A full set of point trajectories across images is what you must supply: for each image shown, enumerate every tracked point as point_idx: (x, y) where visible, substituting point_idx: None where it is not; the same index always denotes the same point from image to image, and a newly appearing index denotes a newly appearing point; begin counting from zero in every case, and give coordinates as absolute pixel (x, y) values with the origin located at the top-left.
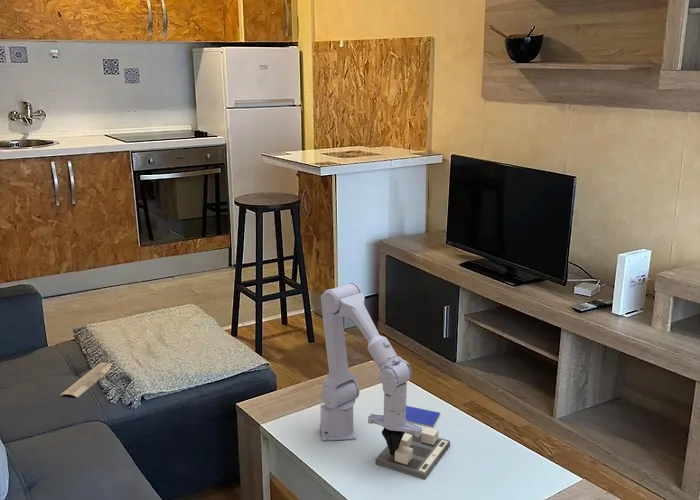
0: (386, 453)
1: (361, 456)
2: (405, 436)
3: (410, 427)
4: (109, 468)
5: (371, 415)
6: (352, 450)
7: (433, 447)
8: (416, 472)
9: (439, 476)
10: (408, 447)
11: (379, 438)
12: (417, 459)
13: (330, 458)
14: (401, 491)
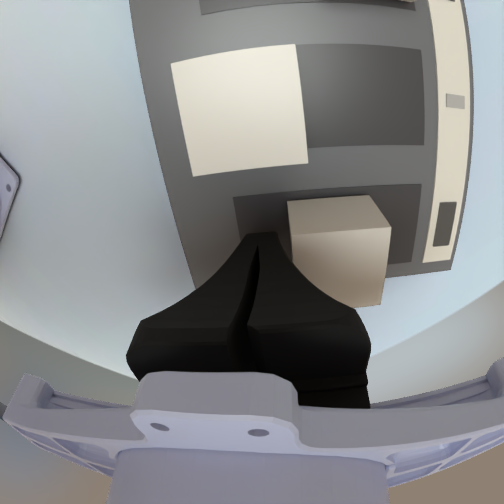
0: (206, 226)
1: (120, 261)
2: (252, 99)
3: (447, 462)
4: (5, 409)
5: (29, 438)
6: (70, 247)
7: (417, 16)
8: (414, 271)
9: (484, 205)
10: (356, 232)
11: (70, 87)
12: (392, 183)
13: (75, 318)
14: (377, 343)
